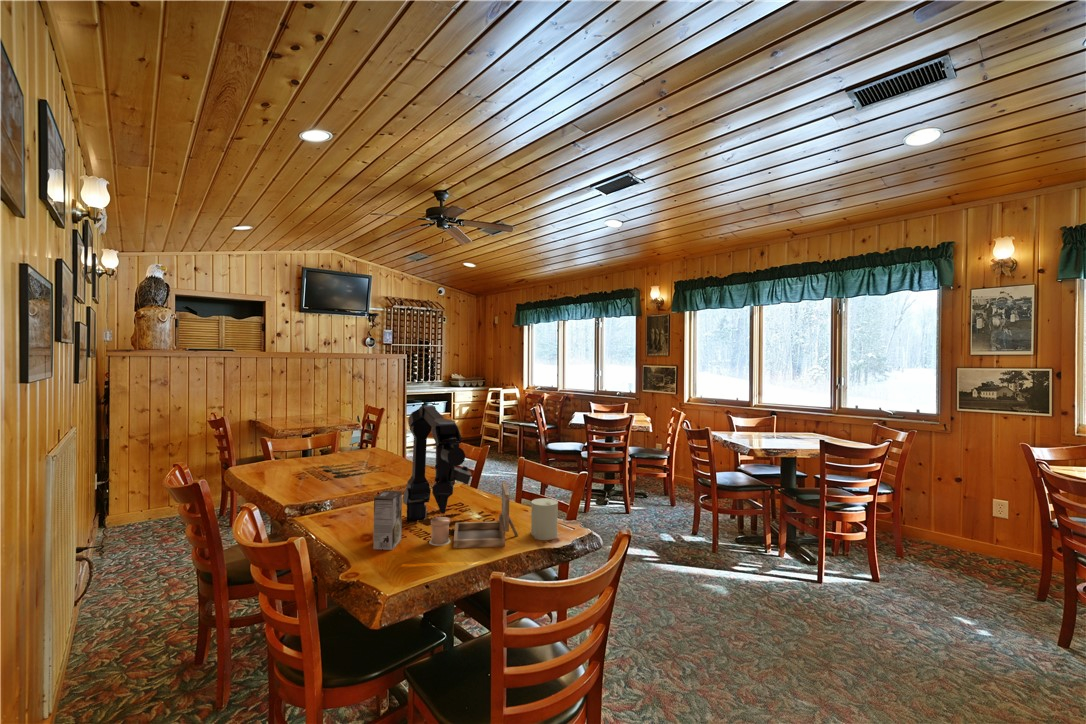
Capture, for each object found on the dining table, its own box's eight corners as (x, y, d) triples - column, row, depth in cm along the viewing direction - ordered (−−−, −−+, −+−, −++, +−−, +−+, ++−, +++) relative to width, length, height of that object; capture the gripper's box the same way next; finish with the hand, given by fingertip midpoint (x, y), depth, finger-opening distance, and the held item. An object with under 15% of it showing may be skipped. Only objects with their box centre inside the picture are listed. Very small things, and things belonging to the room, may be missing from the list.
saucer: (427, 548, 161) (427, 545, 161) (429, 540, 168) (429, 538, 168) (450, 547, 162) (450, 545, 162) (451, 539, 169) (451, 537, 169)
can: (539, 542, 168) (540, 505, 168) (525, 533, 176) (526, 498, 176) (563, 537, 173) (563, 501, 173) (548, 529, 181) (548, 495, 181)
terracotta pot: (429, 545, 162) (430, 522, 162) (431, 538, 168) (431, 517, 168) (449, 544, 162) (449, 522, 162) (449, 537, 168) (450, 516, 168)
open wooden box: (453, 552, 159) (454, 496, 159) (455, 531, 178) (456, 481, 178) (522, 549, 162) (522, 494, 162) (516, 529, 181) (517, 480, 181)
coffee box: (382, 539, 168) (383, 490, 168) (401, 540, 168) (402, 490, 168) (372, 549, 159) (373, 497, 159) (392, 550, 159) (393, 498, 159)
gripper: (469, 466, 157) (469, 517, 156) (470, 455, 175) (469, 501, 175) (432, 466, 155) (431, 518, 155) (437, 455, 174) (436, 501, 174)
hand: (444, 509), depth 165 cm, fingers open, 9 cm apart
